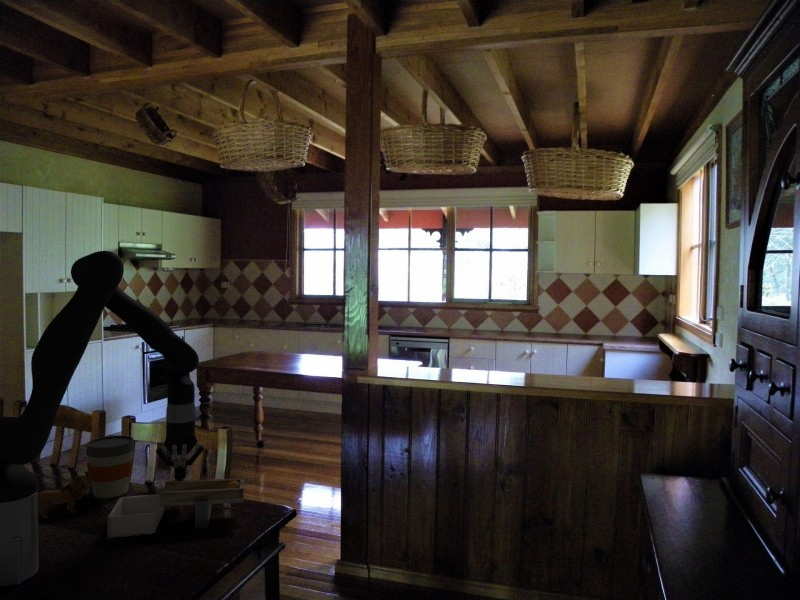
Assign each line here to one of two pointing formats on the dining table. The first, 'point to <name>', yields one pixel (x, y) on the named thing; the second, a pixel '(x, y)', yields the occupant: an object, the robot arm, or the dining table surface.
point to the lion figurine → (64, 495)
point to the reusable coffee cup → (110, 465)
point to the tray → (135, 516)
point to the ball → (233, 485)
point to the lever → (201, 491)
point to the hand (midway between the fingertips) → (180, 480)
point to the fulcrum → (202, 513)
